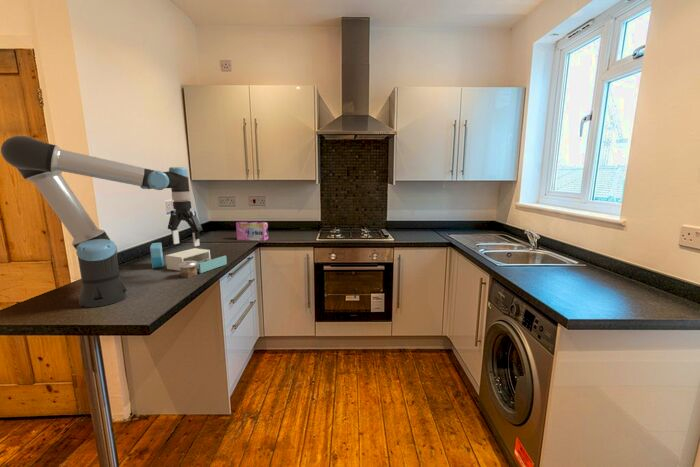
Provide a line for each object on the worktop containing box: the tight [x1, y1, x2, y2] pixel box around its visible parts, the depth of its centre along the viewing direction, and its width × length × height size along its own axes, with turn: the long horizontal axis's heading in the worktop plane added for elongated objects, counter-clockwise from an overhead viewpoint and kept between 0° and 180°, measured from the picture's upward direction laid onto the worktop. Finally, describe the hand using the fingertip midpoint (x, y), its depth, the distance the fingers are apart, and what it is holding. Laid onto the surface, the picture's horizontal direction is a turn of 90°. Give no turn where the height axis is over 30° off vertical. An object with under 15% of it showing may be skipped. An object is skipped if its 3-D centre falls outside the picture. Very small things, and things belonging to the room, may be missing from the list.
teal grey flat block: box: [196, 255, 228, 274], centre depth 165 cm, size 13×18×5 cm
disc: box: [179, 261, 197, 268], centre depth 152 cm, size 8×8×2 cm
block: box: [179, 266, 198, 279], centre depth 152 cm, size 5×5×5 cm
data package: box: [149, 242, 164, 269], centre depth 169 cm, size 12×4×12 cm
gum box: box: [235, 220, 269, 242], centre depth 240 cm, size 24×8×14 cm, turn 82°
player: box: [164, 247, 211, 272], centre depth 170 cm, size 12×18×7 cm, turn 157°
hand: (186, 244), depth 150 cm, fingers open, 13 cm apart
